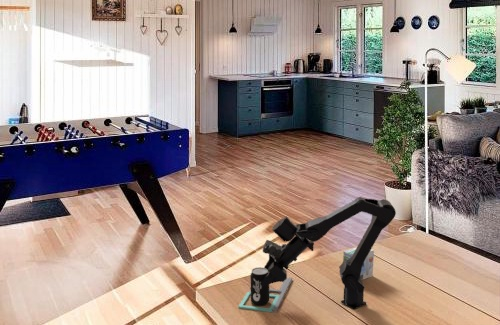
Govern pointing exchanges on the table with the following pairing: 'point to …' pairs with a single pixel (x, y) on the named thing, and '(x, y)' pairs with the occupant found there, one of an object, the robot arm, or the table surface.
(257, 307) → the teal square frame
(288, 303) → the table surface
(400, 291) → the table surface
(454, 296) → the table surface
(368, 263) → the light bulb box
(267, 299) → the beverage can
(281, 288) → the grey square frame
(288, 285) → the strip
